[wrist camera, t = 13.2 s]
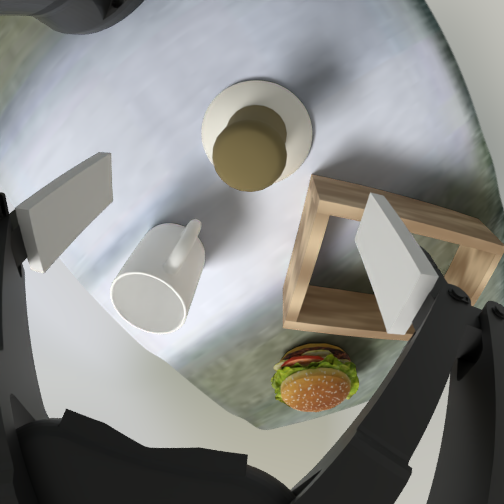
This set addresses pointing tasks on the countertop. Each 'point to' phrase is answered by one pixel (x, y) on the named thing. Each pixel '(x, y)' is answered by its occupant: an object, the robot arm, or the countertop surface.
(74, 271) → the countertop surface
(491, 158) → the countertop surface
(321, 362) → the food
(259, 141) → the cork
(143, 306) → the mug
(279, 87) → the coaster
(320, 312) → the access box
